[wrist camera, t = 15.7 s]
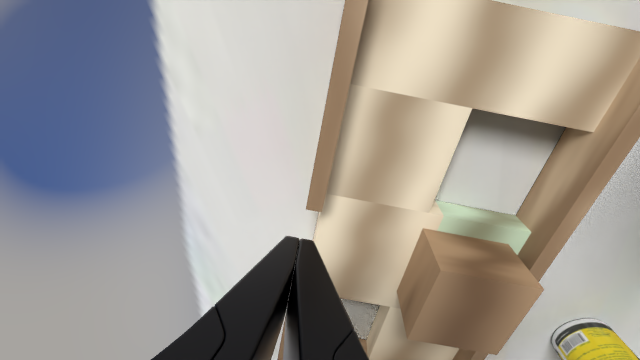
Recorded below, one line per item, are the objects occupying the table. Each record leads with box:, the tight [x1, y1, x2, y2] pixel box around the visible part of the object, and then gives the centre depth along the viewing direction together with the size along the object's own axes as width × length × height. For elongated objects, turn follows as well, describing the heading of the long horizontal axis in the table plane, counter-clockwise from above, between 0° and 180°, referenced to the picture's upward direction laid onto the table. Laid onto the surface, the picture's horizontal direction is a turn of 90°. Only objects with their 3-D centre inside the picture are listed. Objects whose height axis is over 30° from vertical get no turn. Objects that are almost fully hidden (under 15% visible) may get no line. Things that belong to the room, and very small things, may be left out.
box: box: [277, 0, 640, 360], centre depth 21 cm, size 16×29×4 cm, turn 170°
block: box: [397, 228, 544, 355], centre depth 20 cm, size 6×6×4 cm
